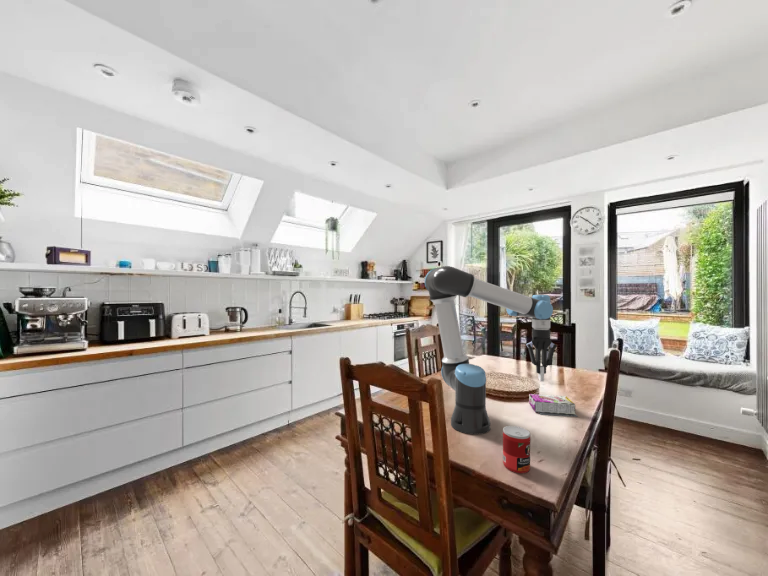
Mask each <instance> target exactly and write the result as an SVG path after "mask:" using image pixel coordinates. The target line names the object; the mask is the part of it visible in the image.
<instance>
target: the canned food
mask: <svg viewBox="0 0 768 576" xmlns="http://www.w3.org/2000/svg"><path fill="white" fill-rule="evenodd" d="M502 463H503V466H504V467H505V468H506V469H507V470H508V471H510V472H513V473H516V474H527V473H528V472H529V471H530V470H531V432H530V431H529V430H528V429H526V428H524V427H521V426H517V425H507V426H504V427H503V428H502Z"/></svg>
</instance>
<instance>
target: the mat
mask: <svg viewBox="0 0 768 576" xmlns="http://www.w3.org/2000/svg"><path fill="white" fill-rule="evenodd" d="M538 414H539V415H541V416H553V417H554V416H559V417H573V418H574V417H575V418H576V417H579V416H578V415H577V413H575V415H571V414H557V413H543V412H538Z"/></svg>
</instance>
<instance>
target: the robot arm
mask: <svg viewBox="0 0 768 576" xmlns="http://www.w3.org/2000/svg"><path fill="white" fill-rule="evenodd" d="M424 286H425V289H426V290H427V291H428V296H429V300H430V301H431V302H432V303H433V304H434V308H435V312H436V319H437V325H438V330H439V335H440V339H441V346H442V352H443V357H442V358H441V364H442V367H441V371H440V372H441V373H440V374H441V377H442V380H443V381H444V382H445V384H446V385H448V387H450V388H451V389H452V390H454V391H455V405H454V409H453V411H452V413H451V416H450V426H451V428H453V429H454V430H456V431H457V432H460V433H463V434H469V435H482V434H485V433H486V434H487V433H488V432H489V431H490V430H491V421H490V420H491V419H490V417H489V414H488V411H487V408H486V403H487V401H486V400H487V399H486V398H487V397H486V396H487V394H486V393H487V392H486V391H487V376H486V371H485V369H484V368H482V367H481V366H479V365H475V364H472V363H470V360H469V356H468V355H467V354H465V353H464V347H463V346H464V345H463V339H462V337H461V335H462V334H461V331H460V325H459V320H458V313H457V308H456V303H455V299H456V298H457V296H458V297H459V296H460V297H463V298H467V297H470V298H474V299H477V300H479V301H482V302H485V303H489V304H492V305H494V306H498V307H501V308H504V309H505V310H506V313H507V314H508V315H509V316H510V317H526V318H531V321H532V322H531V327H532V329H531V337H532V338H531V339H530V342H528V343H525V346H526V347H527V349H528V353H529V357H530V361H531V364H533V365H534V366H536V369H535V370H536V371H535V372H536V374H537V375H538V380H539V381H540V382H545V374H547V367H548V366H551V365H552V360H553V359H554V357H553V356H554V353H555V350H556V348H557V347H558V345H557V344H555V343H553V342H552V340H551V330H550V329H551V317H552V315H553V312H554V307H553V305H552V304H551V297H550V295H547V294H533V295H532V296H531V297H530V296H528V295H525V294H523V293H520V292H517V291H514V290H511V289H508V288H505V287H502V286H500V285H499V286H498V285H497V284H492V283H490V282H487V281H484V280H482V279H478V278H476V277H475V275H474V274H471V273H469V272H466V271H464V270H463V269H459V268H456V267H453V266H448V265H444V266H440V267H434V268H433V269H430V271H428V272H427V273H426V275H425V278H424ZM533 347H534V348H535V353H534V349H533ZM548 348H549V349H548ZM547 353H548V354H547Z"/></svg>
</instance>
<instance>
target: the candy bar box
mask: <svg viewBox="0 0 768 576" xmlns="http://www.w3.org/2000/svg"><path fill="white" fill-rule="evenodd" d="M528 396H529V397H528V403H529V405H530V407H531V408H532V410H533V411H534V412H535V413H539V412H543V413H557V414H571V415H575V414H576V403H575V402H573V401H572V399H570V398H569V397H568V396H567V395H552V394H551V395H550V394H537V393H535V394H534V393H529V395H528Z"/></svg>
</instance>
